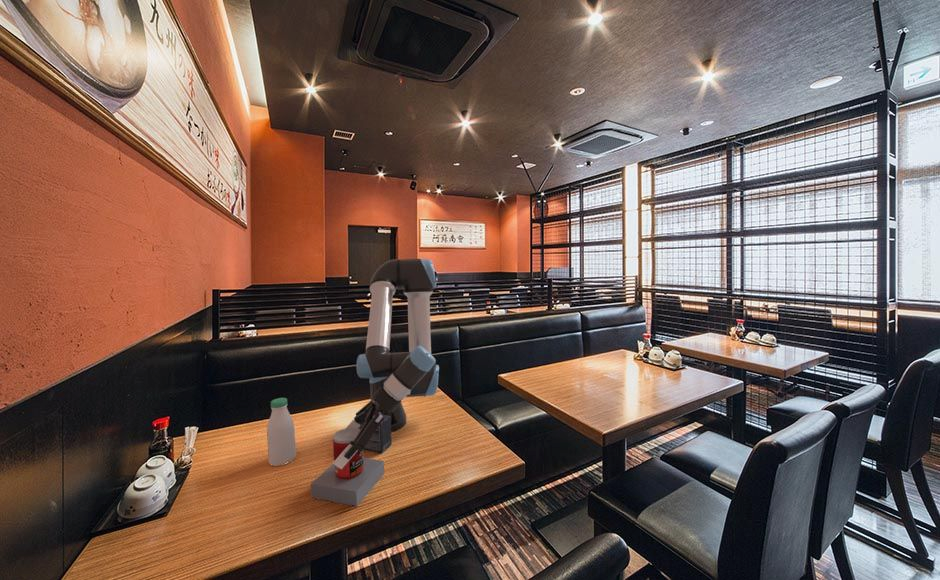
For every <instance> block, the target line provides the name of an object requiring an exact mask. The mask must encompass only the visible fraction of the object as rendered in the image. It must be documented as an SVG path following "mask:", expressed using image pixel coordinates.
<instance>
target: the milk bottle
mask: <svg viewBox="0 0 940 580" xmlns="http://www.w3.org/2000/svg"><path fill="white" fill-rule="evenodd" d="M287 406H288V398H287V397H279V398H275V399H272V400H271V401H270V408H271V414H270V417H269V419H268V422H267V424H266V426H267V427H266V438H267V439H266V442H267V453H268V454H267V455H268V463H269V464H272V465H282V464H285V463H287V462H290V461H291V460H293V459H294V458H295V459H296V457H297V448H296V447H297V445H296V434H295V433H296V432H295V422H294V418H293V417H292V415H291V414H290V411H289V410H288V407H287ZM295 456H296V457H295ZM295 459H294V460H295ZM294 460H293V461H294ZM291 462H292V461H291ZM291 462H290V463H291ZM272 465H271V466H272ZM285 465H286V464H285ZM282 466H283V465H282Z"/></svg>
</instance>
